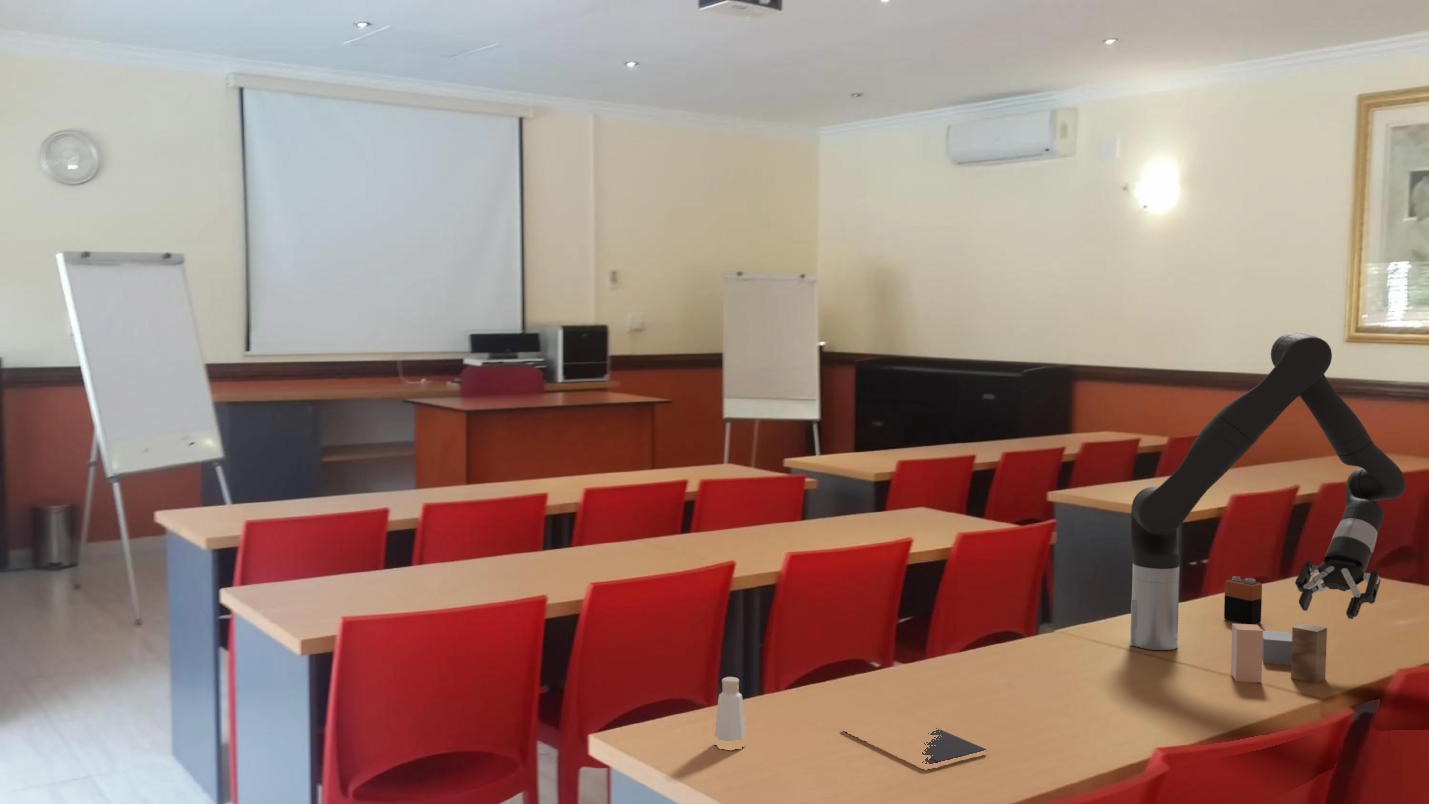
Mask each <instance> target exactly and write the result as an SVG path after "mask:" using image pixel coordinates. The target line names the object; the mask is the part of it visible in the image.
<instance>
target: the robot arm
mask: <svg viewBox="0 0 1429 804" xmlns="http://www.w3.org/2000/svg"><path fill="white" fill-rule="evenodd" d="M1270 359H1271V363H1272V365H1273V367H1274V368H1273V369H1272V370H1271V371H1270V372H1269V373H1268V374H1267V375H1266V377H1265V378H1263V380H1262V381H1260V382H1259V383H1258V384H1257V385H1255V386H1254V387H1253V388H1251V389H1250V390H1248V391H1247V392H1245V393H1243V394H1241V395H1240V396H1238V397H1237V398H1235V399H1234V400H1233V401H1231V402H1230V403H1228V404H1227V405H1225V406H1224V407H1223V408H1222V409H1221V410H1220V411H1218V412H1217V413H1216V414H1215V415H1214V417H1213V418H1212V419H1211V420H1210V421H1209V422H1208V423H1207V424H1206V425H1205V427H1204V428H1203V429H1202V430H1201V431H1200V432H1199V434H1198V435H1197V437H1196V438H1195V439H1194V441H1193V443H1192V444H1191V447H1190V448H1189V450H1188V452H1187V454H1186V455H1185V457H1184V459H1183V460H1182V462H1181V463H1180V465H1179V466H1178V468H1177V469H1176V470H1175V471H1174V472H1173V473H1172V474H1171V475H1170V476H1169V477H1168V478H1167V479H1166V480H1165V481H1164V482H1162V484H1161V485H1159V486H1148V487H1144V488H1143V489H1141V490H1140V491H1139V492H1137V494H1136V495H1135V496H1134V498H1133V501H1132V503H1131V509H1130V510H1131V511H1130V512H1131V513H1130V529H1131V530H1130V533H1131V534H1130V542H1131V543H1130V544H1131V545H1130V547H1131V552H1132V580H1131V584H1132V586H1131V587H1132V588H1131V602H1130V643H1129V644H1130V646H1132V647H1137V648H1140V649H1145V650H1151V651H1152V650H1153V651H1170V650H1171V651H1172V650H1175V649H1177V648H1178V642H1179V606H1180V605H1179V603H1180V601H1179V600H1180V598H1179V597H1180V559H1181V557H1180V551H1179V546H1178V536H1177V535H1178V528H1180V526H1181V525H1182V524H1183V522H1184V521H1185V520H1186V519H1187V517H1188V516H1189V515H1190V513H1191V512H1192V510H1193V509H1194V508H1195V507H1196V505H1197V504H1198V502H1199V501H1200V500H1201V498H1202V497H1204V495H1205V494H1206V493H1207V491H1209V489H1211V488H1212V487H1213V485H1214V484H1216V482H1217V481H1219V480H1220V479H1221V478H1222V477H1223V476H1224V475H1225V474H1226V473H1227V472H1228V471H1229V470H1230V469H1231V468H1232V467H1233V466H1234V465H1235V464H1236V463H1237V462H1238V461H1239V460H1240V459H1241V458H1242V457H1243V456H1244V455H1245V454H1246V453H1247V452H1248V451H1249V450H1250V449H1251V448H1252V447H1253V445H1254V444H1255V443H1256V442H1257V441H1258V440H1259V438H1260V437H1262V435H1263V434H1264V433H1265V432H1266V431H1267V430H1268V428H1270V427H1271V426H1272V424H1274V422H1275V421H1276V420H1277V419H1278V418H1279V417H1280V415H1282V414H1283V412H1284V411H1285V410H1286V409H1287V407H1289V406H1290V405H1291V404H1292V403H1293V402H1294V401H1296V399H1297V398H1298V397H1300V399H1301V400H1302V402H1303V403H1304V404H1305V406H1306V407H1307V408H1308V410H1309V411H1310V413H1311V414H1312V415H1313V417H1314V419H1315V420H1316V422H1317V423H1318V425H1319V426H1320V427H1319V428H1320V429H1321V430H1322V431H1323V433H1324V435H1325V437H1326V438H1327V440H1328V442H1329V443H1330V445H1331V447H1332V449H1333V450H1334V451H1335V453H1336V455H1337V456H1338V458H1339V460H1340V461H1341V462H1342V463H1343V464H1345V465H1347V466H1351V467H1359V468H1358V469H1355V470H1353V471H1352V472H1351V473H1350V474H1349V476H1348V477H1347V480H1346V485H1345V487H1346V489H1345V490H1346V494H1345V509H1344V512H1343V514H1342V515H1341V516H1342V517H1341V518H1340V522H1339V524H1338V525H1337V527H1336V529H1335V530H1334V532H1333V535H1332V538H1331V540H1330V543H1329V545H1328V548H1327V550H1326V553H1325V555H1324V559H1323V562H1321V564H1320V565H1315V564H1312V562H1310V560H1307V561H1305V562H1304V564H1303V565H1302V567H1301V570H1300V571H1299V572H1298V573H1299V574H1298V575H1297V577H1296V580H1295V581H1294V584H1295V586H1296V587H1297V590H1298V592H1301V594H1300V597H1299V599H1298V603H1299V606H1300V608H1301V609H1302V611H1305V612H1306V611H1308V609H1309V607H1310V605H1311V602H1312V599H1313V595H1316V594H1317V593H1318V592H1323V591H1324V590H1326V589H1329V590H1338V591H1341V592H1346V591H1349V590H1350V593H1351V594H1352V597H1351V599H1350V601H1349V602H1348V603H1349V604H1348V607H1347V609H1346V616H1347V619H1349V620H1353V619H1354V618H1356V617H1358V615H1359V613H1360V610H1361V608H1362V605H1363V604H1365V603H1369V604H1374V603H1375V602H1376V598H1377V594H1378V591H1379V588H1380V584H1381V578H1380V575H1379V574H1378V571H1376V570H1372V571H1371V572H1370V573H1369V572H1366V570H1367V568H1368V566H1369V562H1370V560H1371V557H1372V554H1373V552H1374V551H1375V546H1376V544H1377V539H1378V538H1377V537H1378V534H1379V532H1380V529H1381V526H1382V524H1383V520H1384V516H1385V512H1384V509H1383V508H1382V506H1381V505H1379V504H1378V503H1377V502H1376V501H1384V500H1393V499H1397V498H1399V497H1401V496H1402V495H1403V494H1404V492H1405V490H1406V484H1407V483H1406V478H1405V476H1404V473H1403V472H1402V470H1401V469H1400V467H1399V466H1398V465H1397V464H1396V463H1395V462H1394V461H1393V460H1392V459H1391V458H1390V457H1389V456H1388V455H1387V454H1385V452H1383V450H1382V449H1380V448H1379V446H1377V445H1376V444H1375V443H1374V442H1373V440H1372V438H1371V437H1370V435H1369V433H1368V431H1367V429H1366V428H1365V426H1364V424H1363V423H1362V422H1361V420H1360V419H1359V417H1358V416H1357V414H1356V413H1355V412H1354V411H1353V410H1352V408H1351V407H1350V406H1349V405H1348V404H1347V403H1346V402H1345V400H1344V399H1342V397H1341V396H1340V395H1339V394H1338V392H1336V390H1335V389H1334V388H1333V386H1332V384H1331V383H1330V382H1329V380H1328V379H1327V377H1326V375H1325V373H1326V372H1327V371H1328V369H1329V368H1330V366H1331V363H1332V359H1333V352H1332V349H1331V346H1330V345H1329V343H1328V342H1327V341H1326V340H1324V339H1322V338H1321V337H1317V336H1314V335H1312V334H1306V333H1303V332H1289V333H1285V334H1282V335H1280V337H1278V338H1277V339H1276V340H1275V341H1274V343H1273V344H1272V347H1271V350H1270ZM1317 573H1318V574H1317ZM1311 578H1312V579H1311ZM1364 581H1366V584H1367V585H1366V587H1365V588H1366V589H1365V591H1364V592H1362V593H1361V592H1360V590H1359V588H1358V585H1359V584H1360V583H1362V582H1364ZM1321 582H1322V583H1321Z"/></svg>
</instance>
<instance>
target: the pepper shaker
mask: <svg viewBox="0 0 1429 804" xmlns="http://www.w3.org/2000/svg"><path fill="white" fill-rule="evenodd" d="M721 683H722V685H721V687H722V688H721V689H722V692H721V693H719V694H718V700H717V710H716V711H717V712H716V721H715V729H714V737H715V736H716V737H717V738H718V739H719V740H724V741H735V740H742V739H743V738H744V737H745V736H746V737H747V730H746V719H745V711H744V709H745V708H744V701H743V700H744V699H743V695H742V693H740V691H739V684H740V679H739V678H738V677H734V676H726V677H723V678H722V679H721Z"/></svg>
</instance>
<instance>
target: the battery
mask: <svg viewBox="0 0 1429 804" xmlns="http://www.w3.org/2000/svg"><path fill="white" fill-rule="evenodd" d="M1262 599H1263V584H1262V583H1261V582H1256V579H1255V578H1250V577H1247V578H1245V579H1242V578H1241V577H1240V576H1232V578H1231V579H1227V580H1225V582H1224V602H1223V603H1224V605H1223V619H1224V620H1226V621H1231V622H1234V623H1237V624H1242V623H1243V624H1253V625H1258V624H1260V623H1262V606H1263V605H1262V603H1263V600H1262Z"/></svg>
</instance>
